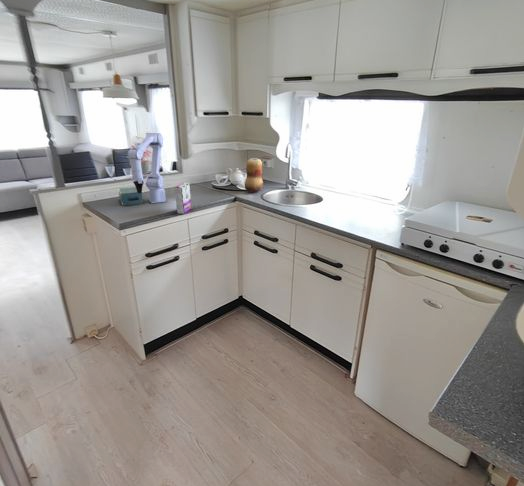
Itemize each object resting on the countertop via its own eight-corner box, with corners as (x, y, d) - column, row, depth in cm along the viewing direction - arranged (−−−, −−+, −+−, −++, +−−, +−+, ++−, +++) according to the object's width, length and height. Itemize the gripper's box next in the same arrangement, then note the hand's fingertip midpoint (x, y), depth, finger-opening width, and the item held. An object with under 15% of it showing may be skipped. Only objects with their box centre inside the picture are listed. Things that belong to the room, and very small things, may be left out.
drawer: (144, 204, 207) (142, 194, 205) (125, 206, 202) (123, 197, 200) (138, 197, 222) (137, 188, 219) (120, 199, 217) (119, 190, 214)
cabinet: (143, 203, 213) (141, 191, 209) (122, 206, 207) (120, 193, 204) (139, 198, 224) (137, 186, 221) (119, 200, 218) (117, 188, 215)
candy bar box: (184, 208, 204) (182, 182, 197) (191, 209, 203) (189, 183, 196) (176, 213, 193) (174, 186, 187) (184, 214, 193) (182, 187, 186)
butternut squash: (249, 195, 235) (249, 160, 225) (241, 191, 246) (241, 157, 236) (266, 193, 241) (267, 159, 232) (257, 189, 252) (258, 156, 242)
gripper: (127, 168, 196) (130, 190, 201) (131, 173, 184) (134, 196, 189) (139, 168, 199) (142, 189, 204) (144, 172, 187) (147, 195, 192)
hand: (139, 192), depth 197 cm, fingers closed
